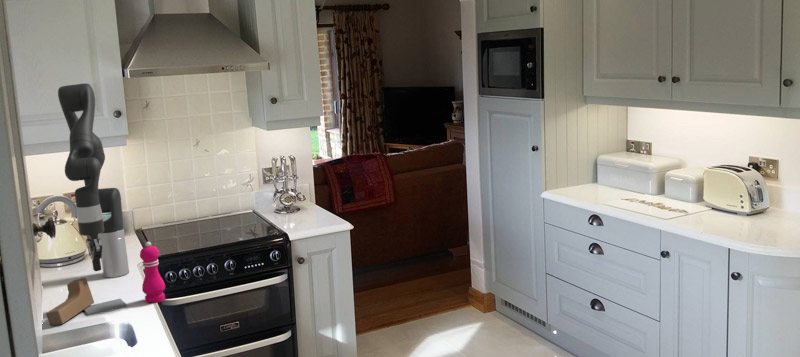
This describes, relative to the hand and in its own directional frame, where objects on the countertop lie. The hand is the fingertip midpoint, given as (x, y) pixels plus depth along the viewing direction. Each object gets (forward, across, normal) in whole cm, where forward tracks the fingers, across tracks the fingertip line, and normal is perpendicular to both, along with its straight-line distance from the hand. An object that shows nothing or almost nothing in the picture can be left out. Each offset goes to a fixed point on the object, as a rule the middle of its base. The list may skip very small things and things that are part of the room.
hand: (97, 270), depth 235 cm
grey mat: (+12, -4, 0) cm, 13 cm away
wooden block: (+7, +2, +4) cm, 8 cm away
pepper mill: (+12, -9, -15) cm, 21 cm away
